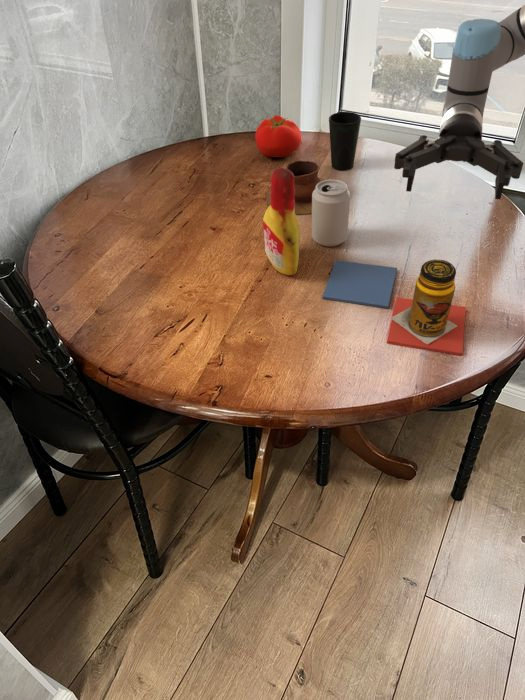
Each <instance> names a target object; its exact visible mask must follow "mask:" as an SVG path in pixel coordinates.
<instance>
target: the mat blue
mask: <svg viewBox="0 0 525 700" xmlns="http://www.w3.org/2000/svg"><path fill="white" fill-rule="evenodd" d="M397 272H398V268H397V267H394V266H385V265H377V264H371V263H363V262H355V261H348V260H339V259H335V260H334V263H333V267H332V269H331V272H330V275H329V278H328V280H327V283H326V285H325V289H324V290H323V294H322V297H321V298H322V299H323V300H327V301H333V302H341V303H347V304H352V305H353V304H355V305H360V306H367V307H368V306H369V307H373V308H381V309H387V310H388V309H389V308H390V307H389V306H390V303H391V299H392V298H391V297H392V295H393V290H394V289H393V288H394V284H395V280H396V275H397Z"/></svg>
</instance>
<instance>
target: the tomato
mask: <svg viewBox="0 0 525 700" xmlns="http://www.w3.org/2000/svg"><path fill="white" fill-rule="evenodd" d="M254 138H255V145H256V148H257V150H258V152H259V153H261V154H262V156H264V157H266V158H269V159H271V158H274V157H276V158H285V157H287V156H289V155H291V154H293V153H295V151H297V150H298V149H299V148H300V147H301V145H302V139H303V137H302V133H301V130H300V128H299V126H298V125H297V124H296V123H295V122H294V121H293V120H290V119H288V117H287V118H285V117H282V116H281V115H274V116H272V117H270V118H266V119H264V120H262V121H261V122H260V123H259V125H258V126H257V128H256V131H255V136H254Z"/></svg>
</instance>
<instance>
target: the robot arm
mask: <svg viewBox="0 0 525 700" xmlns="http://www.w3.org/2000/svg"><path fill="white" fill-rule="evenodd" d="M523 56H525V4H523V5H522V6H521V7H519V8H518V9H516V10H515V11H513V12H512V13H511V14H509V15H508V16H506V17H505V18H503V19H502V20H500V21H497V20H495V19H494V20H493V19H488V18H473V19H469V20H465V21H463V22H462V23H460V24H459V26H458V27H457V31H456V35H455V38H454V42H453V45H452V55H451V63H450V67H449V75H448V79H447V81H448V82H447V87H446V91H445V97H444V102H443V107H442V113H441V121H440V125H439V131H438V137H437V138H435V140H429V138H428V136H427V135H426V134H425V135H423V134H422V135H420V136H419V137H418V140H416V141H415V142H413V143H411V144H409V145H407V146H406V147H405V148H402V149H401V150H400V151H398V152H396V153H395V158H394V163H393V164H394V165H393V166H394V167H393V169H394V170H401V169H402V178H403V179H404V178H406V179H407V181H406V189H405V192H410V193H411V192H412V188H413V184H414V180H415V175H416V171H417V170H418V169H421V168H424V167H427V166H429V165H431V164H434V163H436V164H440V163H443V162H445V161H448V162H449V161H451V162H463V163H467V164H469V165H471V166H473V167H476V166H478V167H480V168H482V169H483V170H485V171H487V172H489V173H490V174H492V175H493V176H495V179H494V180H495V181H494V199H495V200H502V199H501V198H502V195H503V192H504V187H508V186H509V185H510V182H511V179H514V180H519V179H520V177H521V173H522V170H523V167H524V162H523V161H522V160H521V159H519V158H518V157H517V156H516V155H514V153H512V152H511V151H510V150H509V149H507V147H505V146H504V145H503V142H502V141H501V140H500V139H495V140H494V141H493V143H492V142H491V144H485V141H483V123H484V122H483V121H484V119H483V118H484V112H485V107H486V102H487V98H488V94H489V89H490V85H491V79H492V76H493V72H495V71H497V70H499V69H500V68H502V67H504V66H505V65H508V64H509V63H512V62H514V61H516V60H518V59H520V58H522V57H523Z"/></svg>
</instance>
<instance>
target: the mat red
mask: <svg viewBox="0 0 525 700" xmlns="http://www.w3.org/2000/svg"><path fill="white" fill-rule="evenodd" d="M412 303H413V298H406V297H399V296H396V297H395V303H394V306H393V311H392V316H391V318H392V317H393V316H396V315H397V314H399V313H401V312H403V311H404V310H406V309H408V308H410V307H411V306H412ZM466 309H467V308H466V306H461V305H453V304H451V307H450V312H449V316H448V320H449V321H450V322H452V323H454V324H455V325H457V327H455V328H454V329H452V330H451V331H449V332H448V333H446V334H444V335H443V336H441V337H439V338H438V339H436V340H434V341H433V342H431V343H429V344H425V343H424V342H422V341H421V340H420V339H418V338H417V337H415V336H414V335H413V334H411V333H410V332H409V331H407V330H406V329H405V328H404V327H402V326H401V325H399V324H398V323H396V322H395V321H394V320H392V319H391V320H390V324H389V325H390V326H389V330H388V334H387V338H386V344H389V345H395V346H401V347H407V348H412V349H413V348H414V349H418V350H426V351H429V352H430V351H431V352H437V353H442V354H449V355H455V356H463V352H464V350H463V349H464V338H465V337H464V336H465V323H466Z"/></svg>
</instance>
